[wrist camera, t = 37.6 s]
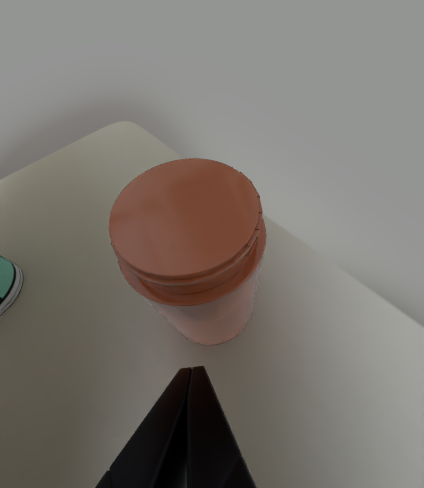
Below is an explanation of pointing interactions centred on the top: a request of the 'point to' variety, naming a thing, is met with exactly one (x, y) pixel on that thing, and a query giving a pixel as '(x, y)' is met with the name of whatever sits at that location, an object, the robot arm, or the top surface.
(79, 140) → the top surface
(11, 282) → the spray can
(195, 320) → the jar
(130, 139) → the top surface
